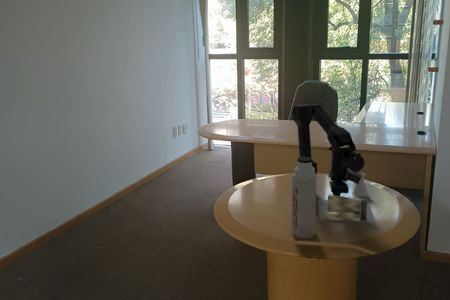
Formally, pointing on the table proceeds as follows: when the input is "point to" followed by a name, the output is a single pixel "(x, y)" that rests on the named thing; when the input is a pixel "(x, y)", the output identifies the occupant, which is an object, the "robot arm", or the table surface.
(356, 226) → the table surface
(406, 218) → the table surface
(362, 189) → the flask
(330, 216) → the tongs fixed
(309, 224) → the thermos bottle
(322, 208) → the slate board
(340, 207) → the beige flat block
